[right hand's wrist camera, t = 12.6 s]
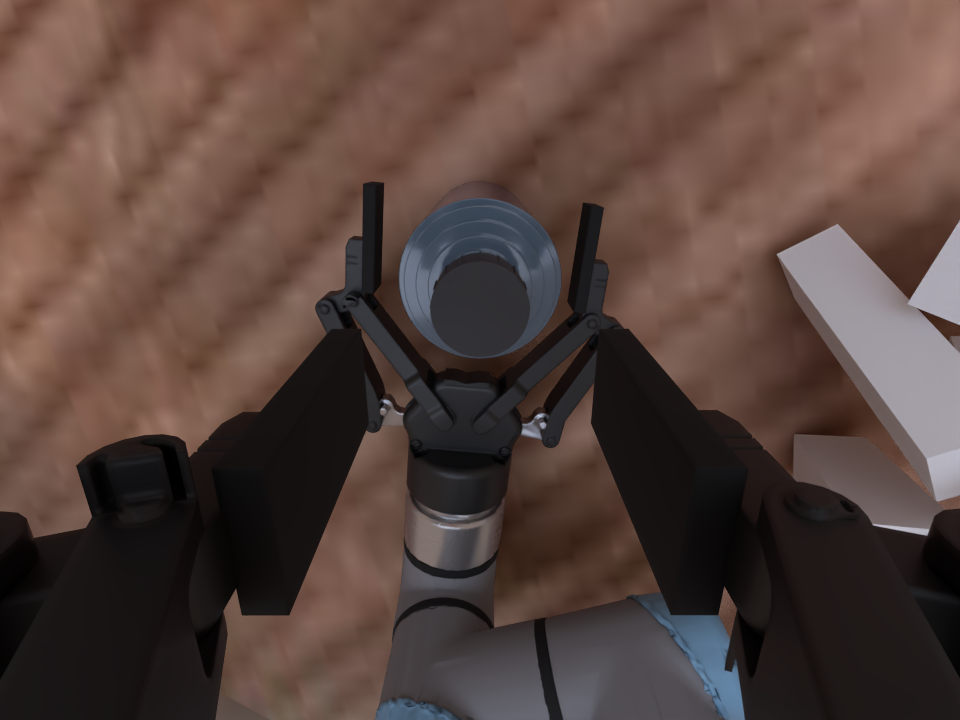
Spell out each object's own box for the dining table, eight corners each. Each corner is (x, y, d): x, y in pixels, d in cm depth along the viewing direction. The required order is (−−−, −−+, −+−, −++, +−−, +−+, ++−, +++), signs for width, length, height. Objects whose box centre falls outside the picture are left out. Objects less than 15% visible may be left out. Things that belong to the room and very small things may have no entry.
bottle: (548, 248, 40) (612, 334, 21) (466, 302, 42) (454, 428, 22) (495, 159, 38) (510, 163, 19) (409, 219, 39) (341, 280, 20)
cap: (543, 311, 22) (549, 324, 20) (467, 358, 23) (466, 375, 21) (494, 232, 21) (495, 239, 19) (414, 285, 22) (409, 296, 20)
